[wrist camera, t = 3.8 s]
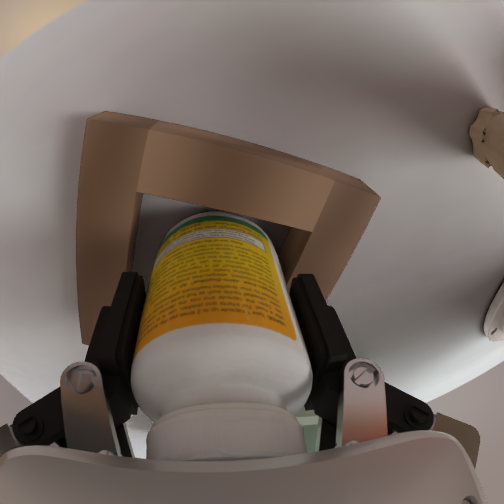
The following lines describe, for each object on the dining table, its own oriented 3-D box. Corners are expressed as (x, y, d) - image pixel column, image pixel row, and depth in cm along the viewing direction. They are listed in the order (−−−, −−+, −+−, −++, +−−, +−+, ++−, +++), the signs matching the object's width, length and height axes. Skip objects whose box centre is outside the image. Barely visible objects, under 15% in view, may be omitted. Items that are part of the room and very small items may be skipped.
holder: (359, 179, 13) (381, 197, 11) (274, 346, 18) (280, 372, 16) (105, 111, 10) (87, 119, 8) (90, 316, 15) (82, 343, 13)
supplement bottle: (292, 276, 15) (355, 469, 7) (198, 318, 16) (202, 503, 8) (240, 183, 12) (296, 421, 4) (133, 243, 13) (74, 460, 5)
